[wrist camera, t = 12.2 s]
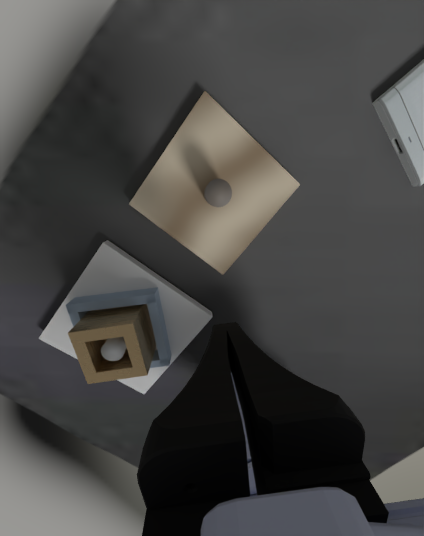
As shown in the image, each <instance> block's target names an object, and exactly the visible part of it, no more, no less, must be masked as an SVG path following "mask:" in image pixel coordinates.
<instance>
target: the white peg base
mask: <svg viewBox="0 0 424 536" xmlns="http://www.w3.org/2000/svg"><path fill="white" fill-rule="evenodd" d="M140 304H147V308H148V312H149V316H150V320H151V324H152V328H153V332H154V336H155V341H156V349H155V352H154V355H153V359H152V362H151V366H150V369H149V372H148V375H146V376H139V377H133V378H126V379H119V380H118V381H120V382H122V383H124V384H125V385H127V386H129V387H131V388H133V389H135V390H137V391H139V392H141V393H143V394H145V393H146V392H147V390H148V389H149V388H150V387H151V386H152V385H153V384H154V383H155V381H156V380H157V379H158V378H159V377H160V376H161V375H162V374H163V372H164V371H165V370H166V369H167V368H168V367H169V366H170V365H171V363H172V362H173V361H174V360H175V359H176V358H177V357H178V356H179V354H180V353H181V352H182V351H183V350H184V349H185V348H186V347H187V345H188V344H189V343H190V342H191V341H192V340H193V339H194V338H195V336H196V335H197V334H198V333H199V332H200V331H201V330H202V329H203V327H204V326H205V325H206V324H207V323H208V322H209V321H210V320H211V318H212V317H213V315H212V312H211V311H210V310H208V309H207V308H206V307H204V306H203V305H201V304H200V303H198V302H197V301H195V300H194V299H193V298H191V297H190V296H188V295H187V294H185V293H184V292H182V291H181V290H179V289H178V288H177V287H175V286H174V285H172V284H171V283H169V282H168V281H166V280H165V279H164V278H162V277H161V276H159V275H158V274H156V273H155V272H153V271H152V270H150V269H149V268H148V267H146V266H145V265H143V264H142V263H140V262H139V261H137V260H136V259H135V258H133V257H132V256H130V255H129V254H127V253H126V252H124V251H123V250H121V249H120V248H119V247H117V246H116V245H114V244H113V243H111V242H110V241H108V240H107V241H105V242H103V243H102V245H101V246H100V248H99V249H98V251H97V252H96V254H95V255H94V257H93V258H92V260H91V261H90V263H89V264H88V266H87V267H86V269H85V270H84V272H83V273H82V275H81V276H80V278H79V279H78V280H77V282H76V283H75V285H74V286H73V288H72V289H71V291H70V292H69V294H68V295H67V297H66V298H65V300H64V301H63V303H62V304H61V306H60V307H59V309H58V310H57V312H56V313H55V315H54V316H53V318H52V319H51V321H50V322H49V324H48V325H47V327H46V328H45V330H44V331H43V333H42V334H41V336H40V337H39V339H40V340H42V341H44V342H46V343H48V344H50V345H51V346H53V347H55V348H57V349H59V350H61V351H63V352H65V353H67V354H69V355H70V356H72V357H74V358H76V359H78V358H77V356H76V353H75V350H74V348H73V345H72V343H71V340H70V338H69V335H68V332H69V331H70V330H71V329H72V328H73V327H74V326H75V325H76V324H77V323H78V322H79V321H80V320H81V319H82V318H83V317H84V316H85V315H86V314H87V313H88V312H89V311H91V310H99V309H108V308H116V307H124V306H132V305H140ZM126 348H127V347H126V344H125V340H124V337H117V338H110V339H107V340H106V342H105V344H104V345H103V347H102V348H101V354H102V356H103V357H104V358H105V359H107V360H109V361H117V360H120V359H121V358H122V357H123V355H124V353H125V351H126Z"/></svg>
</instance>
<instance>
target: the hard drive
mask: <svg viewBox="0 0 424 536" xmlns="http://www.w3.org/2000/svg"><path fill="white" fill-rule="evenodd" d="M372 104H373V106H374V108H375V110H376V112H377V114H378V116H379V118H380V120H381V122H382V124H383V126H384V128H385V131H386V133H387V135H388V137H389V139H390V141H391V143H392V145H393V147H394V149H395V151H396V153H397V155H398V157H399V159H400V162H401V164H402V166H403V168H404V170H405V172H406V174H407V176H408V178H409V180H410V182H411V184H412V186H421V185H422V184H424V59H423V60H422V61H421V62H420V63H419V64H417V65H416V66H415V67H414V68H413V69H412V70H410V71H409V72H408V73H407V74H406V75H404V76H403V77H402V78H401V79H400V80H399V81H397V82H396V83H395V84H394V85H393V86H392V87H390V88H389V89H388V90H387V91H386V92H385V93H383V94H382V95H381V96H380V97H379V98H377V99H376V100H375V101H374V102H373V103H372Z"/></svg>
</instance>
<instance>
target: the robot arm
mask: <svg viewBox="0 0 424 536" xmlns="http://www.w3.org/2000/svg"><path fill="white" fill-rule="evenodd" d="M364 442H365V431H364V429H363V426H362V424H361V423H360V422H359V420H358V419H357V417H356V416H355V415H354V413H353V412H352V411H351V409H350V408H349V407H348V406H347V405H346V404H345V402H344V401H343V400H342V399H341V398H340V397H339V396H338V395H336V394H334V393H332V392H329V391H327V390H325V389H322V388H320V387H318V386H315V385H313V384H311V383H309V382H307V381H306V380H304V379H302V378H300V377H298V376H296V375H295V374H293V373H291V372H290V371H288V370H287V369H285V368H283V367H282V366H280V365H279V364H278V363H276V362H275V361H274V360H272V359H271V358H270V357H269V356H267V355H266V354H265V353H264V352H263V351H262V350H261V349H260V348H258V347H257V346H256V345H255V344H254V342H253V341H252V340H251V339H250V338H249V337H248V336H247V335H246V334H245V333H244V331H243V330H242V329H241V328H240V326H239V325H238V324H237V323H236V322H234V323H226V324H218V325H214V326H213V328H212V334H211V338H210V341H209V343H208V346H207V349H206V351H205V353H204V355H203V358H202V360H201V362H200V364H199V365H198V367H197V369H196V371H195V372H194V374H193V375H192V377H191V378H190V380H189V381H188V383H187V384H186V386H185V387H184V388H183V390H182V391H181V392H180V393H179V394H178V396H177V397H176V398H175V399H174V400H173V401H172V403H171V404H170V405H169V406H168V407H167V408H166V409H165V410H164V411H163V412H162V413H161V414H160V415H159V416H158V417H157V418H155V419H154V420H153V422H152V425H151V427H150V430H149V432H148V435H147V438H146V441H145V444H144V447H143V450H142V455H141V459H140V464H139V468H138V473H137V479H138V484H139V487H140V490H141V493H142V496H143V499H144V502H145V505H146V508H147V510H146V516H145V522H144V527H143V533H142V536H424V498H423V499H416V500H408V501H401V502H394V503H387V504H383V502H382V500H381V499H380V497H379V495H378V494H377V492H376V490H375V489H374V487H373V485H372V484H371V482H370V480H369V479H370V473H369V471H368V469H367V468H366V466H365V465H364V463H363V461H362V455H363V449H364Z"/></svg>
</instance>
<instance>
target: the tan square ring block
mask: <svg viewBox="0 0 424 536" xmlns="http://www.w3.org/2000/svg"><path fill="white" fill-rule="evenodd" d="M68 335H69V338H70V340H71V343H72V345H73V348H74V350H75V353H76V356H77V358H78V361H79V363H80V366H81V368H82V371H83V373H84V376H85V378H86V381H87V383H88V384H91V383H98V382H105V381H112V380H119V379H126V378H133V377H139V376H146V375H148V372H149V369H150V366H151V362H152V359H153V355H154V352H155V349H156V341H155V336H154V332H153V328H152V324H151V320H150V316H149V312H148V308H147V304H140V305H132V306H124V307H116V308H108V309H99V310H91V311H89V312H88V313H87V314H86V315H85V316H84V317H83V318H82V319H81V320H80V321H79V322H78V323H77V324H76V325H75V326H74V327H73V328H72V329H71V330H70V331H69V332H68ZM117 337H124V340H125V344H126V347H127V348H126V351H125V353H124V355H123V357H122V358H121V359H120V360H117V361H109V360H107V359H105V358H104V357H103V356H102V354H101V348H102V347H103V345H104V344H105V342H106V340H107V339H110V338H117Z"/></svg>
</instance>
